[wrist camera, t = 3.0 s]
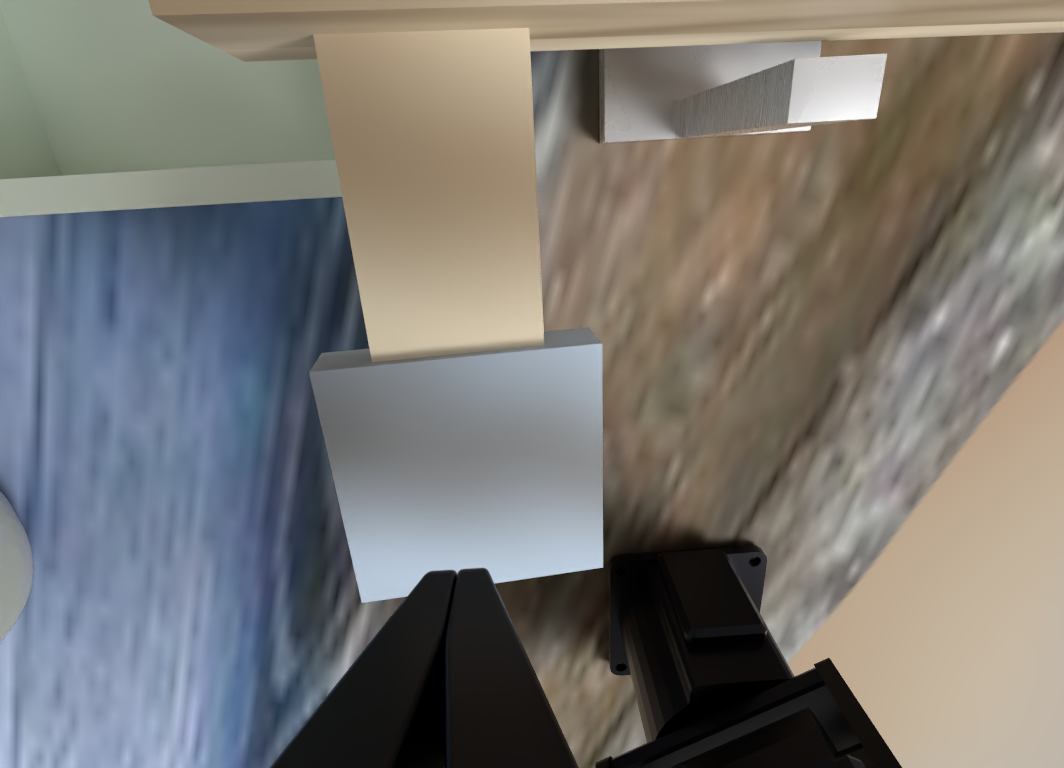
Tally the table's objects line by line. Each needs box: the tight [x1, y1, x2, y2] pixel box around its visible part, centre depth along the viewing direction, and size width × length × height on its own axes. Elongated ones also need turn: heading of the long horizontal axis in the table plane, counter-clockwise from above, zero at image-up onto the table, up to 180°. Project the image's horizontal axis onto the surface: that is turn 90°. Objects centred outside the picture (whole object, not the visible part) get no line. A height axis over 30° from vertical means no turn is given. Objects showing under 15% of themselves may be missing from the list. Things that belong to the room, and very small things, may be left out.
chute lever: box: [149, 0, 1064, 603], centre depth 10 cm, size 17×19×6 cm
